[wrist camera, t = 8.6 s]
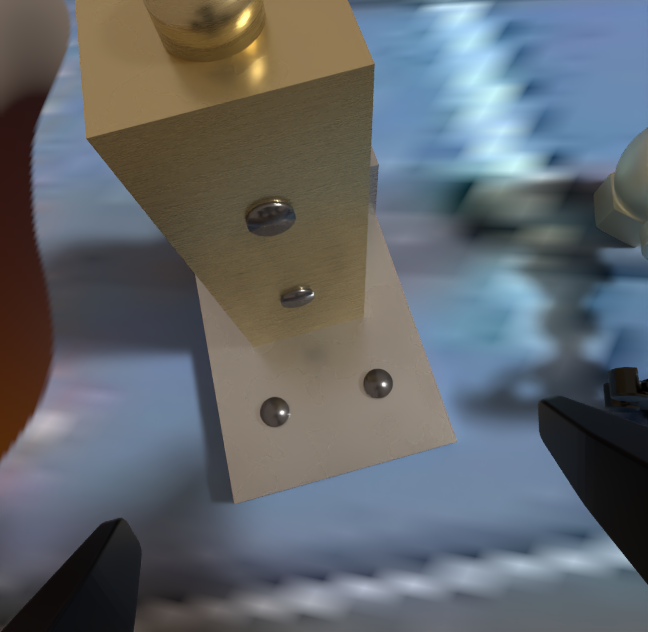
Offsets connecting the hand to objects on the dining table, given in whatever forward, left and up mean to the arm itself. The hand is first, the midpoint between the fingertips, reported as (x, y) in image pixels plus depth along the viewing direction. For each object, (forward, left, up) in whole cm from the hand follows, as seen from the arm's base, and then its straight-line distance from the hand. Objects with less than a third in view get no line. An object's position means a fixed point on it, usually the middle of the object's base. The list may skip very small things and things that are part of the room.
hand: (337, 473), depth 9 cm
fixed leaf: (+6, +2, -9) cm, 11 cm away
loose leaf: (+8, +2, -8) cm, 12 cm away
